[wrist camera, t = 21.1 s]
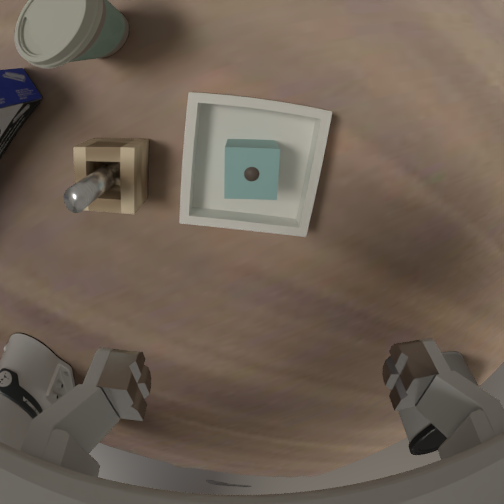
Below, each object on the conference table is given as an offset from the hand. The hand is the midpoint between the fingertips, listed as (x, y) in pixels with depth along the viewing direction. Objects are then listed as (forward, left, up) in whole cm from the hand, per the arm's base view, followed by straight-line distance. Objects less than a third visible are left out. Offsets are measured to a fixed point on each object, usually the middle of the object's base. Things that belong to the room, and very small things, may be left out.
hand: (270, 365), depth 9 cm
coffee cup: (+14, +18, -27) cm, 36 cm away
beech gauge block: (-2, +15, -27) cm, 31 cm away
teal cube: (0, 0, -27) cm, 27 cm away
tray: (0, 0, -27) cm, 27 cm away
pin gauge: (-2, +15, -26) cm, 30 cm away
